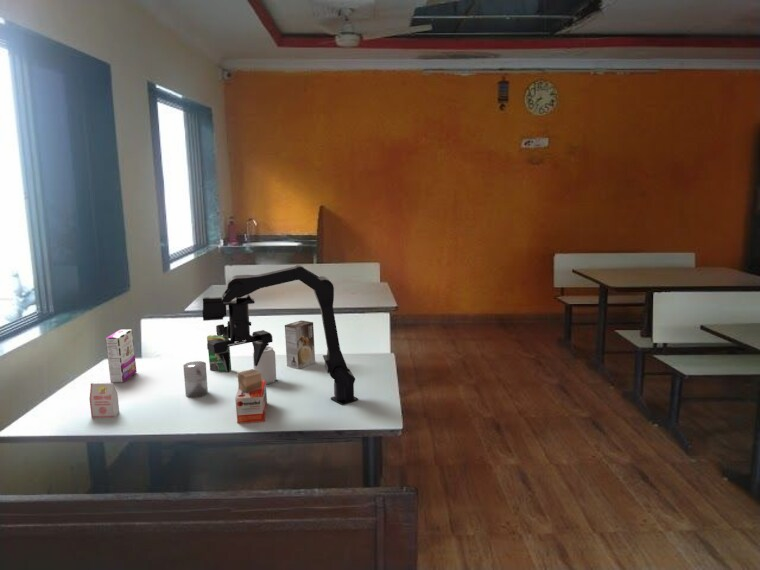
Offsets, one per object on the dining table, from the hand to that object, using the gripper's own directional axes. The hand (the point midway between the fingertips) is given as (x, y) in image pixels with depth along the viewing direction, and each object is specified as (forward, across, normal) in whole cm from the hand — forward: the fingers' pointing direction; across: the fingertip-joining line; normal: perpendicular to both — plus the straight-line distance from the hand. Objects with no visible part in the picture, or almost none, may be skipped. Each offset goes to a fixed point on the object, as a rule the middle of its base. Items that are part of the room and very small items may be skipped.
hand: (241, 368), depth 180 cm
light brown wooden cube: (+5, -1, +4) cm, 7 cm away
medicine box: (+14, -1, +4) cm, 14 cm away
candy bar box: (+14, +19, -56) cm, 61 cm away
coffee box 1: (+13, -10, -41) cm, 44 cm away
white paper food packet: (+14, +34, -24) cm, 44 cm away
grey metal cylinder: (+13, +6, -23) cm, 27 cm away
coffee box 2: (+13, -36, -27) cm, 47 cm away
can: (+13, -17, -19) cm, 29 cm away
